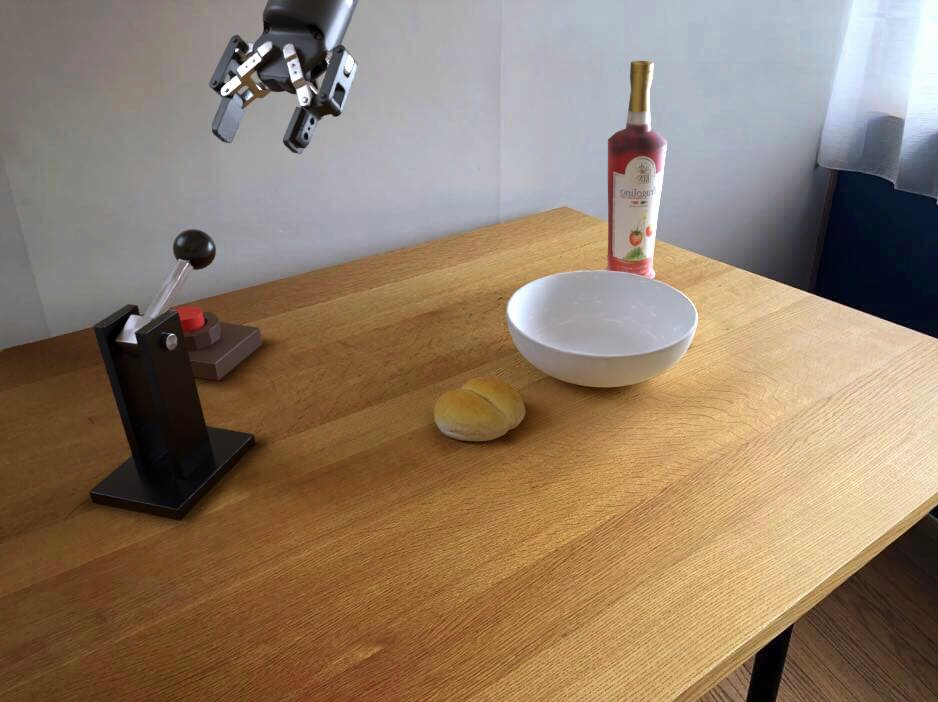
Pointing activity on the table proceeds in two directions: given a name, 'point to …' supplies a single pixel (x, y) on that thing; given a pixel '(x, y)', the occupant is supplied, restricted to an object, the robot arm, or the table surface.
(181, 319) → the stop button
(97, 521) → the table surface
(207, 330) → the control block
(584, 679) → the table surface
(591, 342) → the serving bowl
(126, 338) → the lever
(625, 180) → the liquor
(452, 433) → the bread roll
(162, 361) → the bracket
